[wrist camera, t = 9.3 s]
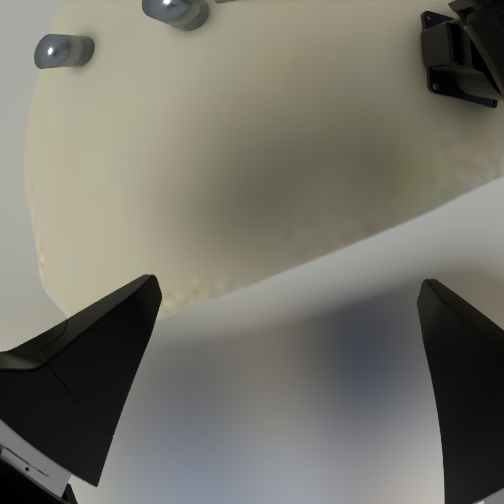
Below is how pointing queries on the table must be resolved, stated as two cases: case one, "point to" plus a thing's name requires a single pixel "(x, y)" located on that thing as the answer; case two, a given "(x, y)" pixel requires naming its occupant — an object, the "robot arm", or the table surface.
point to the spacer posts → (81, 48)
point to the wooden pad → (221, 1)
